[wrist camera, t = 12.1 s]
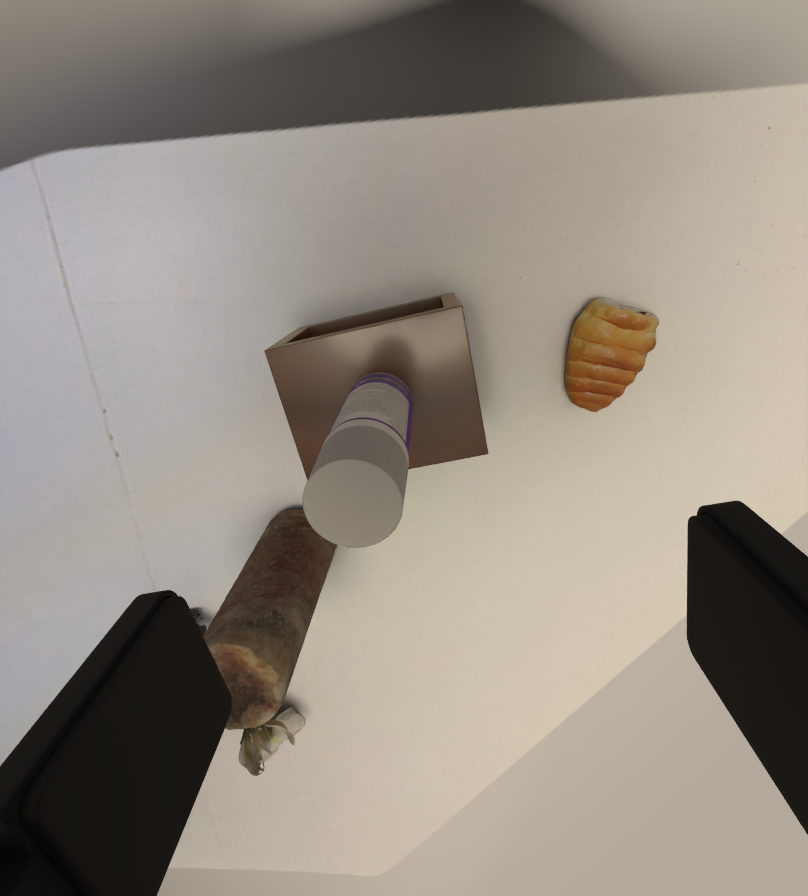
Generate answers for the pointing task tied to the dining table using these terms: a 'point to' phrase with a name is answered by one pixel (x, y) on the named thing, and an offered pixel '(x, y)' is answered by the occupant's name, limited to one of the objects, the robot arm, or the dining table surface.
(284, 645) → the brown rounded bar
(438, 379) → the shelf
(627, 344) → the pastry
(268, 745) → the artificial flower
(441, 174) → the dining table surface
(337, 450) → the container
